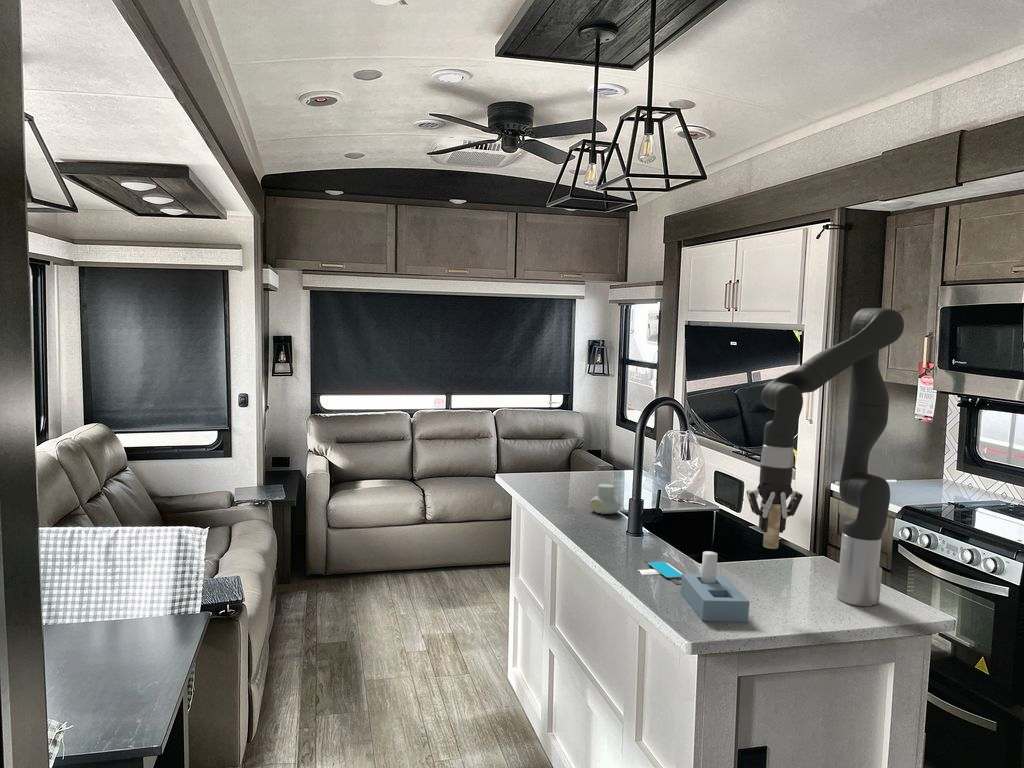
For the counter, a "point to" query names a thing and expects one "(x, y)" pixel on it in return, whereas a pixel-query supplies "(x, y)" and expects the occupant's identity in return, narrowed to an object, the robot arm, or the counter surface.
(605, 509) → the pale green pipe fitting
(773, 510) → the beech pin
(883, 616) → the counter surface
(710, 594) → the bore block
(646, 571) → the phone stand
